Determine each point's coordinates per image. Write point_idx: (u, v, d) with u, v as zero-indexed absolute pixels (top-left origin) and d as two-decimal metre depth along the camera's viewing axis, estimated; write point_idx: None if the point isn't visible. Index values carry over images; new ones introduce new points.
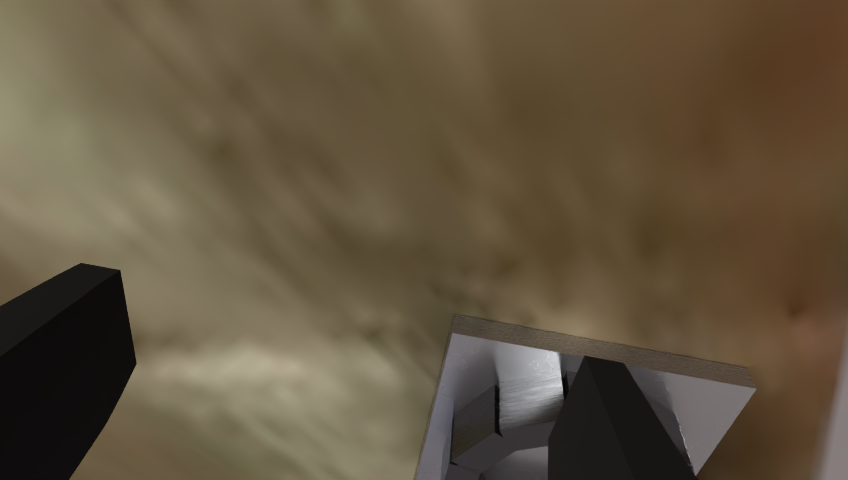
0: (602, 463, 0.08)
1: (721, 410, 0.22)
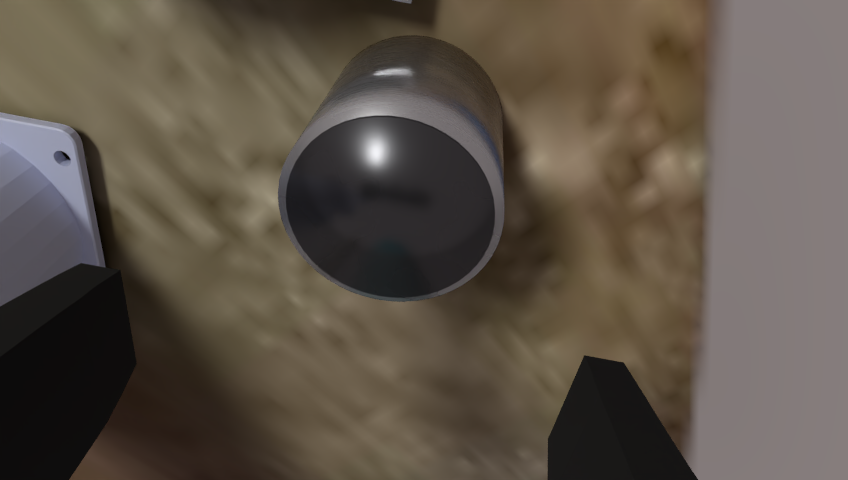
0: (602, 463, 0.08)
1: None
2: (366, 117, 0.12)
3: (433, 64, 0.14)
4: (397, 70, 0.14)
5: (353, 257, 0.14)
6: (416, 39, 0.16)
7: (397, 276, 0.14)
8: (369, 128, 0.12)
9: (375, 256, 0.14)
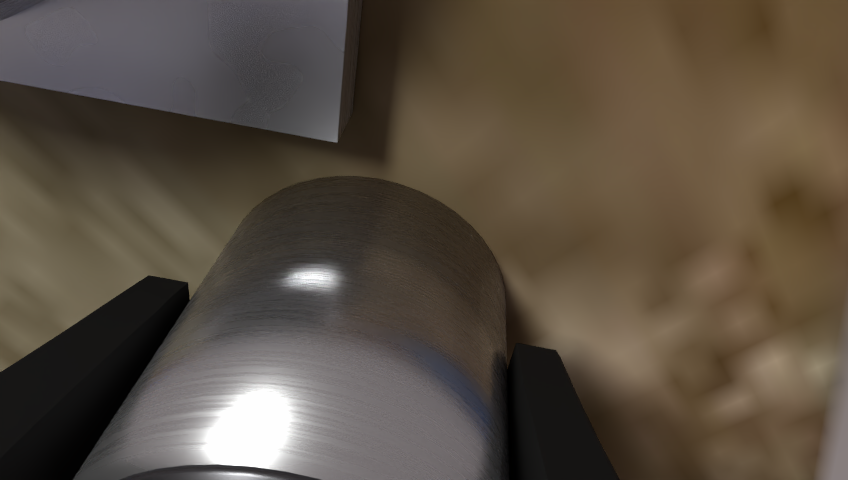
0: (522, 448, 0.08)
1: None
2: (200, 473, 0.05)
3: (376, 263, 0.08)
4: (300, 291, 0.07)
5: None
6: (355, 190, 0.09)
7: None
8: None
9: None
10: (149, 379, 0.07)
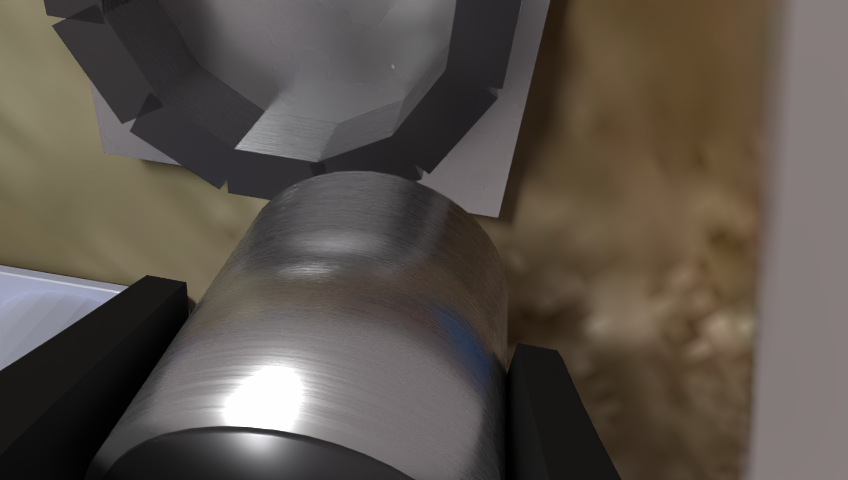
0: (524, 449, 0.08)
1: None
2: (202, 433, 0.06)
3: (368, 246, 0.08)
4: (296, 275, 0.07)
5: None
6: (352, 183, 0.09)
7: None
8: (213, 450, 0.06)
9: None
10: (164, 360, 0.07)
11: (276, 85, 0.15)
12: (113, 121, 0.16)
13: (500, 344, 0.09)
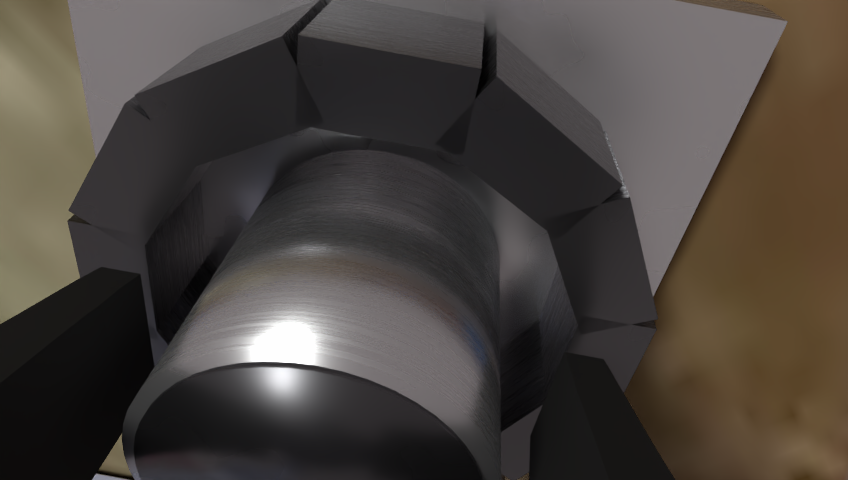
0: (578, 459, 0.08)
1: (703, 101, 0.10)
2: (225, 370, 0.07)
3: (364, 212, 0.09)
4: (300, 239, 0.08)
5: None
6: (347, 160, 0.10)
7: None
8: (236, 385, 0.07)
9: None
10: (186, 320, 0.08)
11: None
12: None
13: (491, 297, 0.10)
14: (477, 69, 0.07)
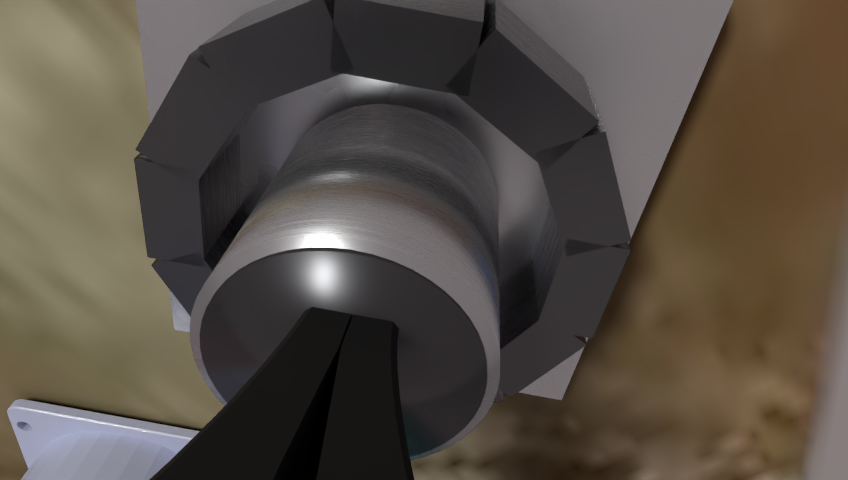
0: None
1: (670, 58, 0.11)
2: (277, 255, 0.08)
3: (382, 147, 0.11)
4: (330, 166, 0.10)
5: None
6: (366, 111, 0.12)
7: None
8: (286, 268, 0.08)
9: None
10: (239, 232, 0.10)
11: None
12: None
13: (491, 222, 0.11)
14: (480, 22, 0.09)
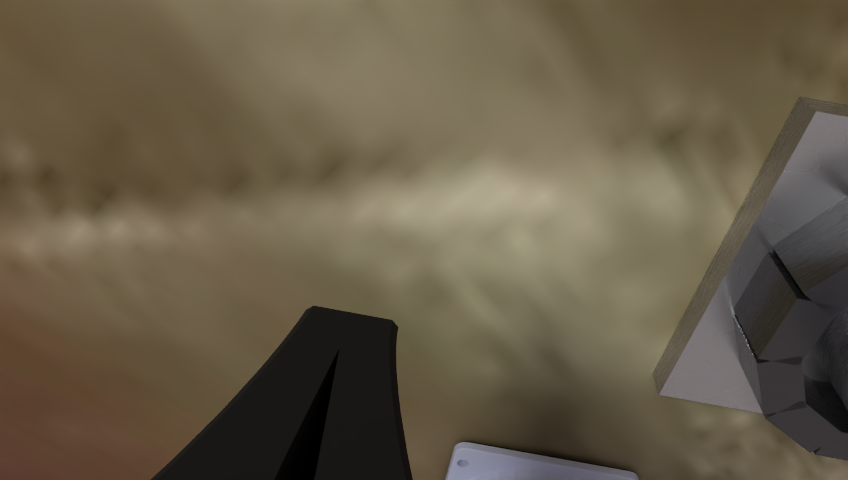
0: None
1: None
2: None
3: None
4: None
5: None
6: None
7: None
8: None
9: None
10: None
11: None
12: (681, 378, 0.21)
13: None
14: None
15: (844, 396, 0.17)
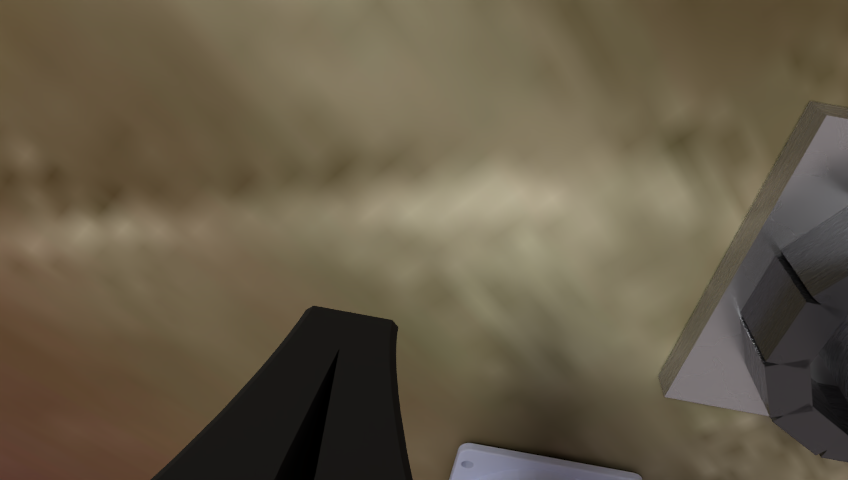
0: None
1: None
2: None
3: None
4: None
5: None
6: None
7: None
8: None
9: None
10: None
11: None
12: (687, 380, 0.21)
13: None
14: None
15: None
